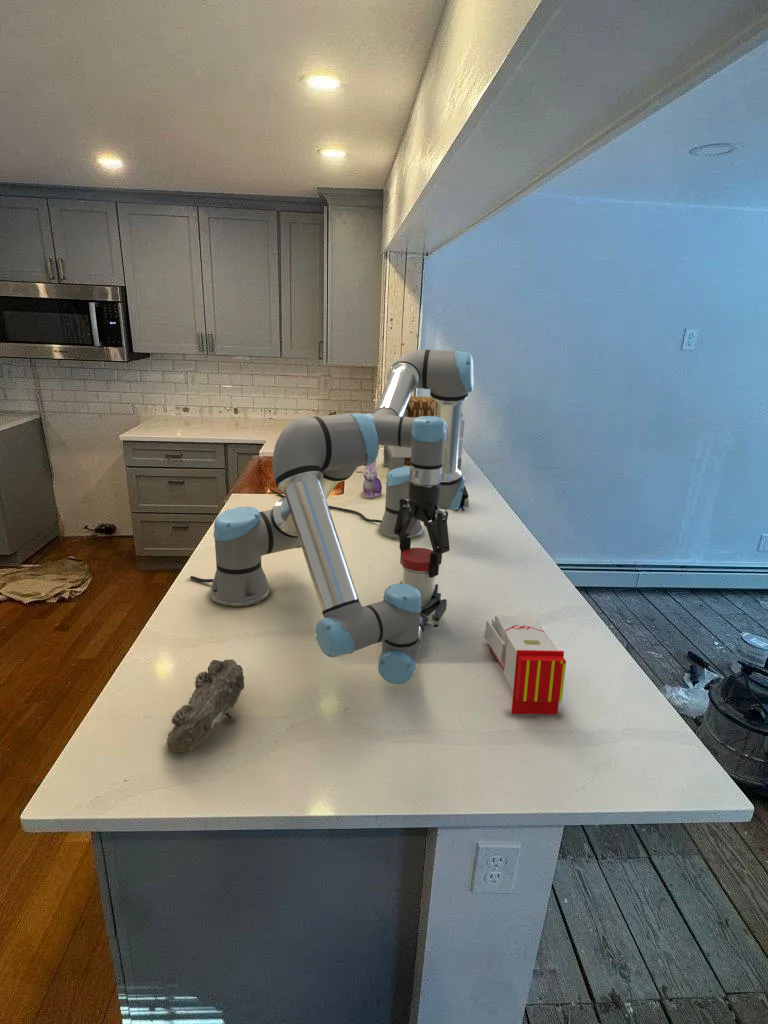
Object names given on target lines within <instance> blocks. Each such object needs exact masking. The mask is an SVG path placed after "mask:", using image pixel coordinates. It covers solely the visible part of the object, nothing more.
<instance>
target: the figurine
mask: <svg viewBox="0 0 768 1024" xmlns="http://www.w3.org/2000/svg"><path fill="white" fill-rule="evenodd" d="M376 465H377V459H376V460H375V462H374V463H372V464H369V465H368V466H365V470H364V472H363V477H364V481H363V482H362V493H361V494H362V496H363V498H366V499H373V498H378V497H380V496H381V495H382V491H383V486H382V485H383V484H382V482H381V480H380V478H378V477H377V476H378V473H377V470H376Z"/></svg>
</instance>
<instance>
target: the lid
mask: <svg viewBox="0 0 768 1024" xmlns="http://www.w3.org/2000/svg"><path fill="white" fill-rule="evenodd" d="M431 552H433V549H430V548H427V547H426V548H425V547H410V548H408V549H406V550H404V551H402V553H401V552H400V556H401V566H403V567H405V568H407V569H409V570H413V571H429V566H430V553H431Z"/></svg>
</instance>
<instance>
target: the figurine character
mask: <svg viewBox="0 0 768 1024" xmlns="http://www.w3.org/2000/svg"><path fill="white" fill-rule="evenodd" d="M469 505H470V500H469V492H468V490H467V488H466V485H464V489H463V494H462V498H461V502H460V506H459V508H458V509H461V511H462V512H464V511H465V508H469ZM458 509H456V510H455V511H456V512H457V511H458Z"/></svg>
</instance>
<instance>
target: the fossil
mask: <svg viewBox="0 0 768 1024" xmlns="http://www.w3.org/2000/svg"><path fill="white" fill-rule="evenodd" d="M243 670H244V669H243V667H242V665H240V664H237V662H236V661H235V660H234V659H232V658H231V659H227V658H226V659H224V660H223V661H222V660H217V659H212V660H211V661H210V663H209V665H208V666H207V671H201V672H199V673H198V674H197V675H196V676H195V680H194V684H195V685H194V687H195V689H194V690H193V693H192V694H191V697H190V698H189V700H188V704H184V705H182V706H181V707H180V709H177V710H176V711H175V713H174V715H173V716H172V718H171V723H172V724H173V727H172V730H171V731H170V732H168V734H167V738H166V741H167V742H166V745H167V749H168V750H169V751H173V752H174V753H176V754H178V753H182V752H188V751H189V752H192V751H193V750H195V748H196V747H197V746H199V744H200V743H201V742H203V741H204V740H205V739H206V738H207V737H208V736H209V735H210V734H211V733H212V732H214V730H215V729H217V727H218V726H219V724H220V722H221V721H222V720H223V719H224V718H225V716H226V717H227V719H229V720H233V717H232V715H230V714H229V710H230V709H231V708H234V706H235V704H236V703H237V702H238V699H239V697H240V695H241V693H242V691H243V690H245V689H244V688H245V675H244V671H243Z"/></svg>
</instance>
